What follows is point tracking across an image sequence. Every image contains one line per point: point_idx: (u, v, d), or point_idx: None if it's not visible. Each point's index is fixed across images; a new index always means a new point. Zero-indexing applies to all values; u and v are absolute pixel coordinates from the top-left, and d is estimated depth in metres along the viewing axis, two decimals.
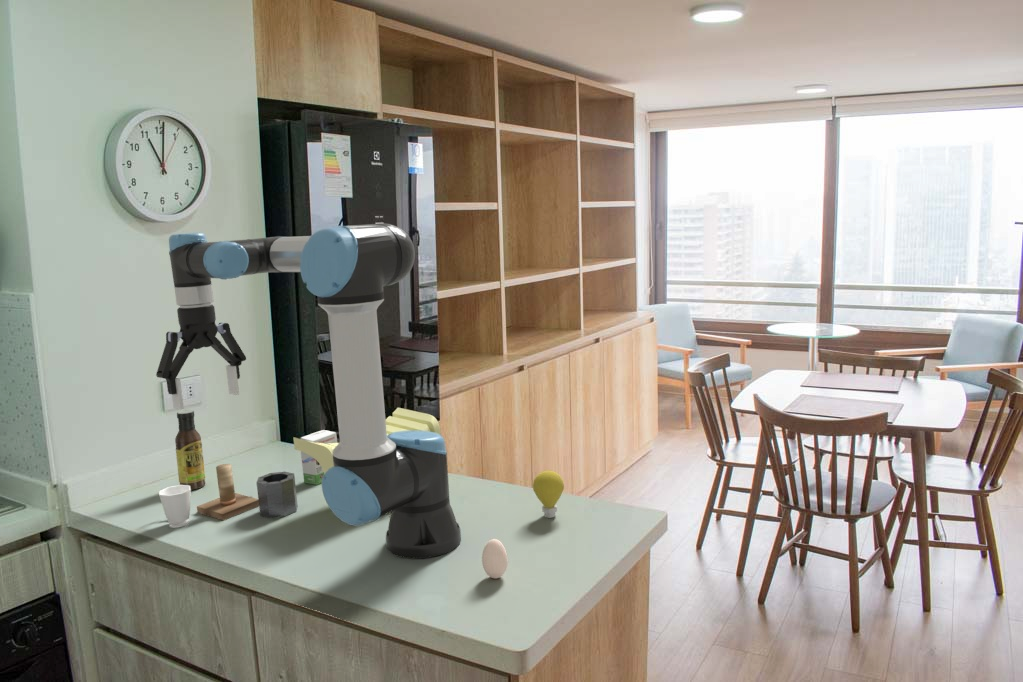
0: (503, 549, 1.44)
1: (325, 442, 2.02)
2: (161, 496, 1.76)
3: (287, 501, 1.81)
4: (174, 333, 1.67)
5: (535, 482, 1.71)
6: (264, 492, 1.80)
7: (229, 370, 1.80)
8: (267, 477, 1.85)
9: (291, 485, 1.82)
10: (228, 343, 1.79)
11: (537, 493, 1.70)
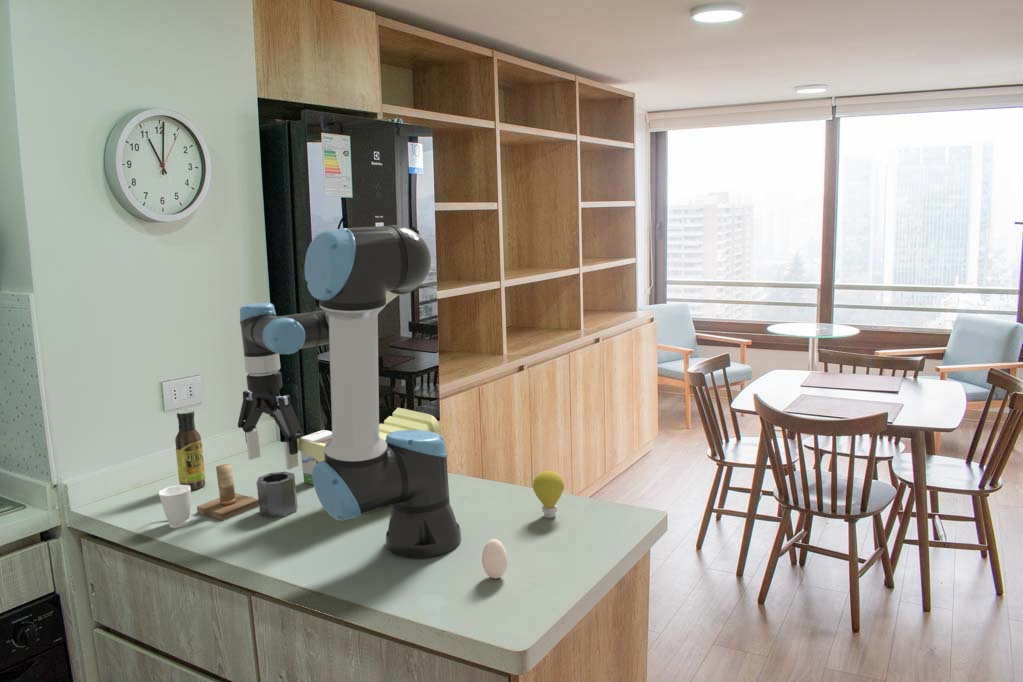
0: (503, 549, 1.44)
1: (325, 442, 2.02)
2: (161, 496, 1.76)
3: (287, 501, 1.81)
4: (243, 392, 1.83)
5: (535, 482, 1.70)
6: (264, 492, 1.80)
7: None
8: (267, 477, 1.85)
9: (291, 485, 1.82)
10: None
11: (537, 493, 1.70)
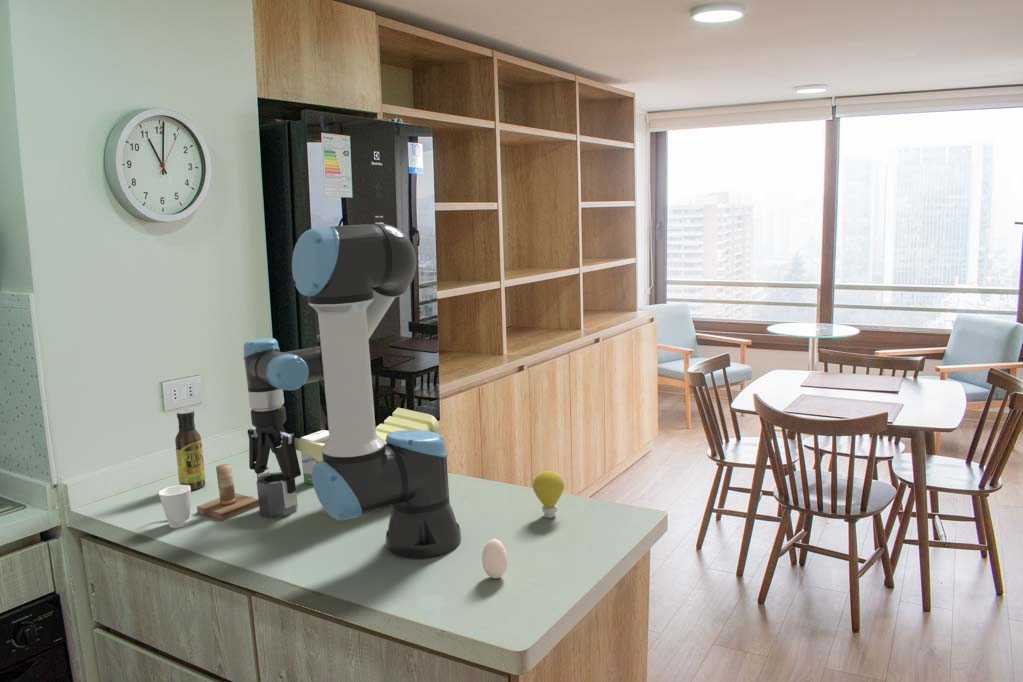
0: (503, 549, 1.44)
1: (325, 442, 2.02)
2: (161, 496, 1.76)
3: None
4: (248, 430, 1.84)
5: (535, 482, 1.71)
6: (264, 492, 1.80)
7: None
8: (267, 477, 1.85)
9: None
10: None
11: (537, 493, 1.70)
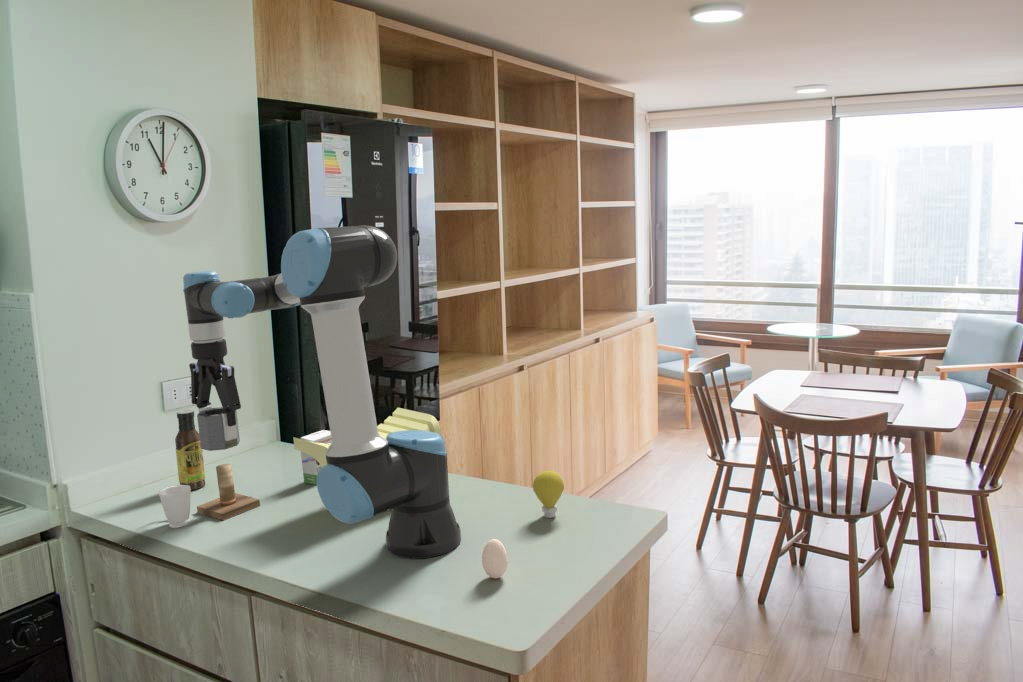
0: (503, 549, 1.44)
1: (325, 442, 2.02)
2: (161, 496, 1.76)
3: None
4: (190, 364, 1.84)
5: (535, 482, 1.71)
6: (205, 425, 1.80)
7: None
8: (209, 411, 1.85)
9: None
10: None
11: (537, 493, 1.70)
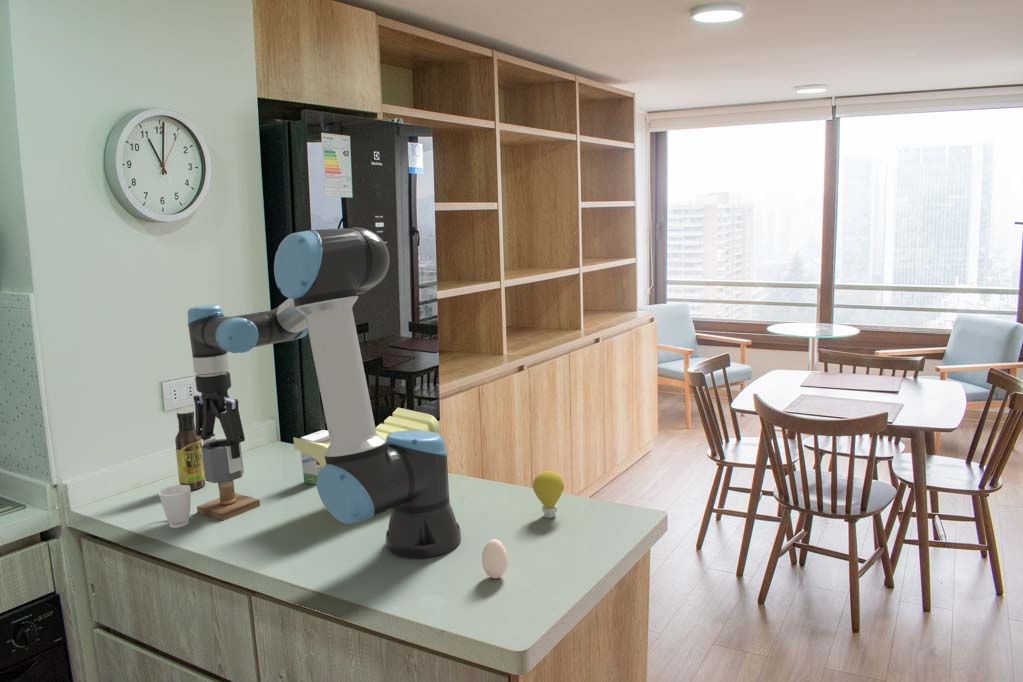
0: (503, 549, 1.44)
1: (325, 442, 2.02)
2: (161, 496, 1.76)
3: None
4: (194, 397, 1.86)
5: (535, 482, 1.71)
6: (209, 457, 1.81)
7: None
8: (213, 443, 1.86)
9: None
10: None
11: (537, 493, 1.70)
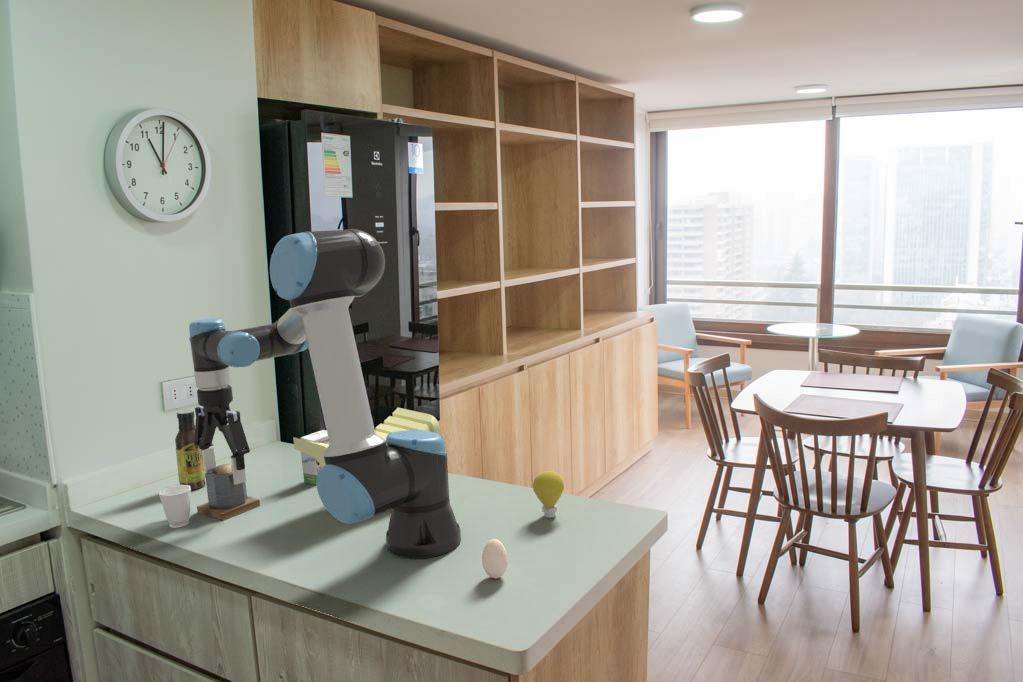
0: (503, 549, 1.44)
1: (325, 442, 2.02)
2: (161, 496, 1.76)
3: (235, 493, 1.84)
4: (195, 408, 1.86)
5: (535, 482, 1.71)
6: (212, 484, 1.83)
7: None
8: None
9: None
10: None
11: (537, 493, 1.70)
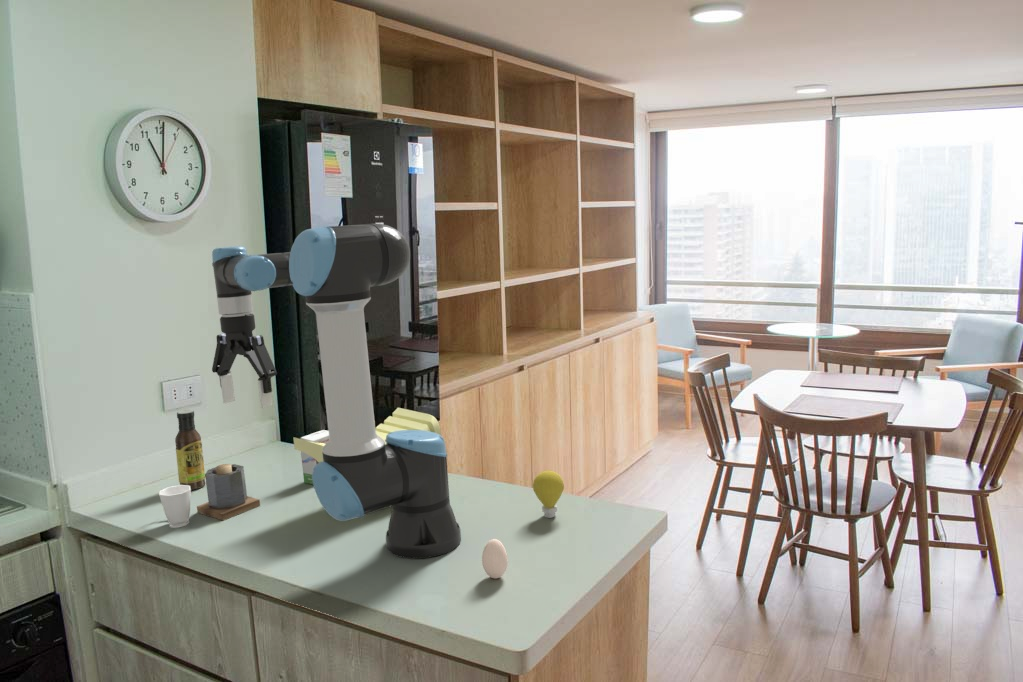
0: (503, 549, 1.44)
1: (325, 442, 2.02)
2: (161, 496, 1.76)
3: (235, 493, 1.84)
4: (217, 336, 1.87)
5: (535, 482, 1.71)
6: (212, 484, 1.83)
7: None
8: None
9: (239, 477, 1.85)
10: None
11: (537, 493, 1.70)
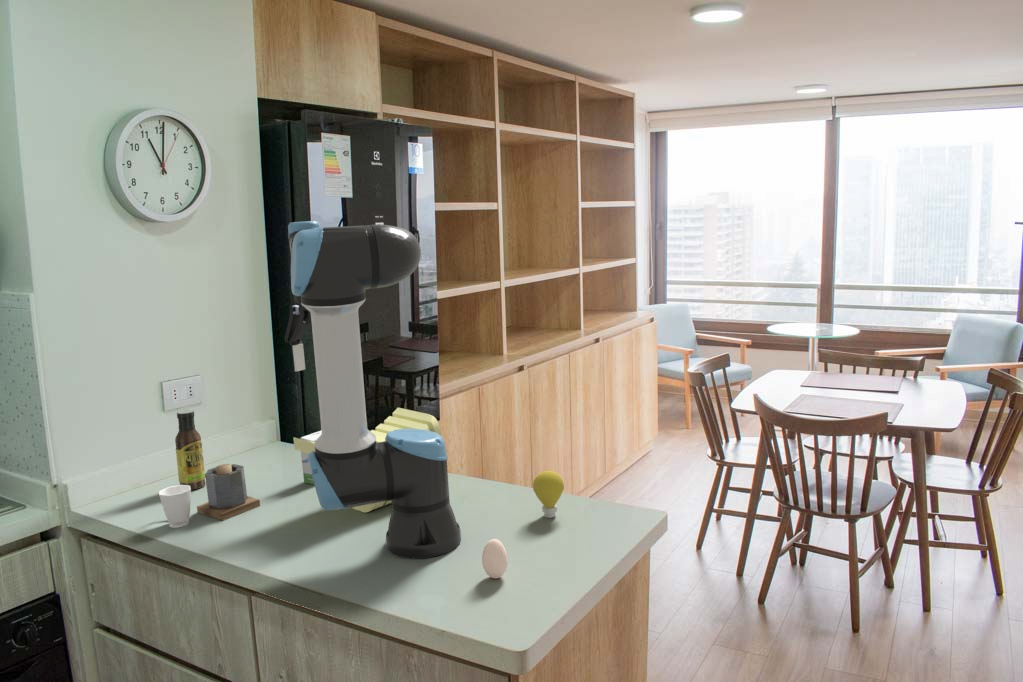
0: (503, 549, 1.44)
1: None
2: (161, 496, 1.76)
3: (235, 493, 1.84)
4: (290, 306, 1.96)
5: (535, 482, 1.71)
6: (212, 484, 1.83)
7: None
8: None
9: (239, 477, 1.85)
10: None
11: (537, 493, 1.70)
